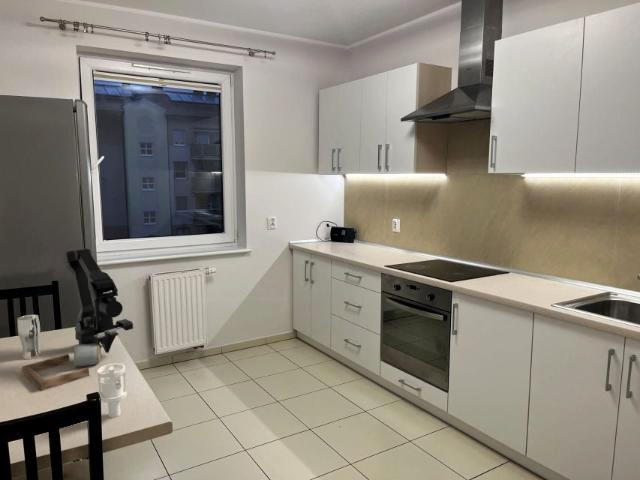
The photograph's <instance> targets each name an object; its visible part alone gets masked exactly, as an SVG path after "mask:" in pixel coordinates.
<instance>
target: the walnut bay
mask: <svg viewBox="0 0 640 480" xmlns="http://www.w3.org/2000/svg"><path fill="white" fill-rule="evenodd" d="M69 362H70V355H69V353H65V354H62V355H58V356H56V357H55V356H54V357H51V358H49V359H44V360H41V361H36V362H33V363H29V364H27V365H22V366H21V368H22V374H23V375H24V376H25V377H26V378H27V379H29V381H31V383H33V384H34V385H35V386H36V387H37V388H38V389H39V390H41V392H42V391H46V390H49V389H51V388H56V387H59V386H62V385H64V384H68V383H71V382H74V381H77V380H81V379H84V378H87V377H90V369H89V367H84V368H82V369H78V370H74V371H71V372H68V373H64V374H61V375H58V376H55V377H51V378H48V379H44V378H43V377H42V376H41V375H39V374H38V373H37V372H38V371H41V370H45V369H49V368H51V367H55V366H56V367H57V366H60V365H62V364H63V365H64V364H66V363H69Z"/></svg>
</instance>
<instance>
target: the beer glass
mask: <svg viewBox="0 0 640 480" xmlns="http://www.w3.org/2000/svg"><path fill="white" fill-rule="evenodd" d="M17 332H18V337H19V340H20V344H21V346H22V353H21V354H22V359H23V360H32V359H36V358H39V357H40V356H41V355H42V351H41V348H40V337H41V324H40V319H39V315H38V314H26V315H23V316H20V317H17Z"/></svg>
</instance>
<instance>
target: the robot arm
mask: <svg viewBox="0 0 640 480" xmlns="http://www.w3.org/2000/svg"><path fill="white" fill-rule="evenodd" d="M62 261H63V263H64V264H65V268H66V270H68V271H69V272H70V274H71V275H72V279H73V281H74V287H75V291H76V297H77V299H78V305H79V309H80V310H79V311H78V312H79V313H78V315H77V318H76V319H77V322H76V324H75V327H74V331H75V337H74V338H75V340H76V341H78V344H99V345H100V349H101V348H103V350H104V353H106V354H108V353H110V350H111V347H112V345H113V342H114V341H115V339H116V337H117V336H119V332H117V330H120V329H122V330H124V331H129V330H133V329H134V323H133V321H132V320H128V319H126V318H125V319H124V318H123V319H120V320H116V321H115V324H114V319H113V318H117V317H119V316H120V315H121V314H122V313H123V310H124V308H123V304H122V303H121V302H119V301H118V300H117V296H119V294H118V292H119V290H118V288H117V285H116V284H115V281H114V280H113V278H111V276H110V275H109V274H108V273H107V272H104V271H102V270H101V268H100V266H99V265H98V263H97V262H96V260H95V259H94V256H93V255H92V252H91V249H90V248H87V247H86V248H80V249H72V250H71V249H70V250H66V251H65V252H64V253H63V254H62Z"/></svg>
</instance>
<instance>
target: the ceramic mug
mask: <svg viewBox="0 0 640 480" xmlns="http://www.w3.org/2000/svg"><path fill="white" fill-rule="evenodd" d="M100 345H101V344H100ZM100 345H99V344H79V343H78V344H77V343H76V344H75V345H74V347H73V364H74V367H75V368H76V367H84V366H85V367H87V366H92V365H96V364H99V363H100V362H101V348H100Z"/></svg>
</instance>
